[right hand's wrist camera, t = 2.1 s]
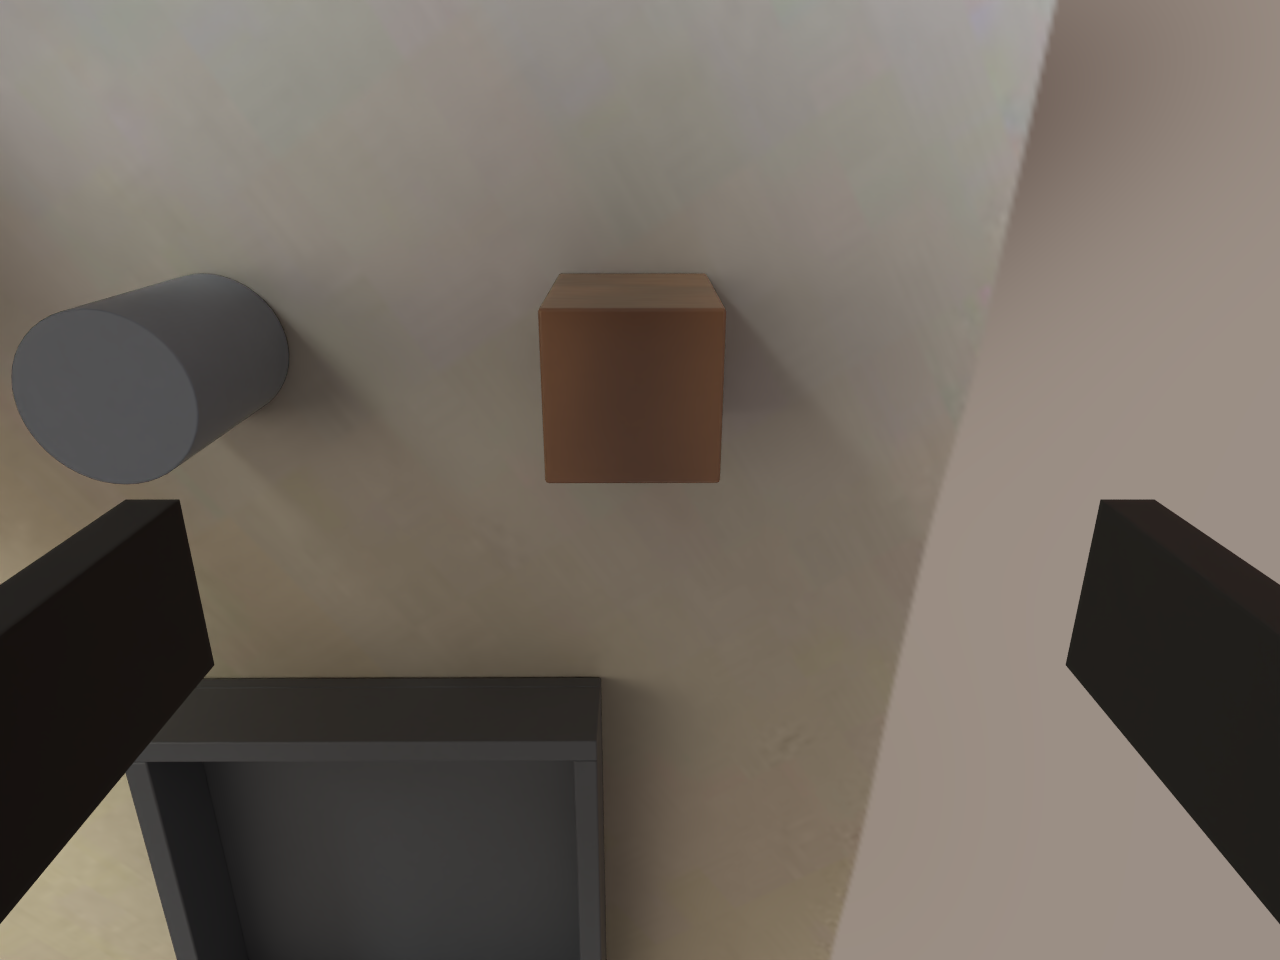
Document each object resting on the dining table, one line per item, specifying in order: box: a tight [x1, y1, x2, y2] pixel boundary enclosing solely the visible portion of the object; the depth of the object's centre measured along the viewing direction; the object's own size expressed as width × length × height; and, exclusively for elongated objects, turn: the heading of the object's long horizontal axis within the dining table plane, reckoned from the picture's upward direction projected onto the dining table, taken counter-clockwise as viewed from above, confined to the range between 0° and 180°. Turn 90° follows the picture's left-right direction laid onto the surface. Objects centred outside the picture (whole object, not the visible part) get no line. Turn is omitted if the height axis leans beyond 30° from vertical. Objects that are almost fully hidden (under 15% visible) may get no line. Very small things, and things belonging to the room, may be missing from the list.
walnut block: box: [538, 274, 726, 483], centre depth 24 cm, size 4×4×6 cm
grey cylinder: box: [11, 274, 289, 484], centre depth 24 cm, size 4×4×6 cm
